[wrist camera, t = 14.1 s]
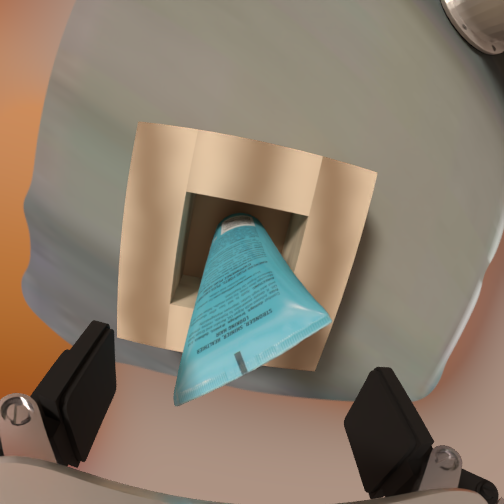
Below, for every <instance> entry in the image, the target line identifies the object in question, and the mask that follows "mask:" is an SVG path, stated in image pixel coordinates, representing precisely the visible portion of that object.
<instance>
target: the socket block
mask: <svg viewBox="0 0 504 504" xmlns="http://www.w3.org/2000/svg"><path fill="white" fill-rule="evenodd" d="M376 177H377V172H374V171H371V170H367V169H364V168H361V167H358V166H354V165H351V164H348V163H344V162H341V161H337V160H334V159H330V158H327V157H323V156H319V155H315V154H312V153H308V152H304V151H300V150H296V149H292V148H288V147H283V146H279V145H275V144H270V143H266V142H261V141H256V140H252V139H247V138H242V137H237V136H232V135H226V134H221V133H215V132H209V131H203V130H197V129H191V128H184V127H177V126H170V125H163V124H155V123H146V122H138V127H137V132H136V137H135V142H134V148H133V153H132V159H131V165H130V172H129V178H128V185H127V192H126V200H125V208H124V217H123V226H122V236H121V248H120V262H119V279H118V306H117V337H118V338H122V339H126V340H130V341H134V342H138V343H142V344H146V345H151V346H155V347H160V348H164V349H169V350H174V351H179V352H183V350H184V345H185V341H186V337H187V333H188V329H189V325H190V321H191V317H192V314H193V310H194V306H195V302H196V299H197V295H198V291H199V287H200V284H201V280H202V276H203V273H204V269H205V265H206V262H207V258H208V255H209V251H210V247H211V244H212V240H213V237H214V233H215V230H216V228H217V226H218V224H219V223H220V222H221V221H222V220H223V219H224V218H225V217H227V216H229V215H231V214H235V213H246V214H249V215H252V216H254V217H255V218H257V219H258V220H259V221H260V222H261V223H262V225H263V226H264V228H265V230H266V231H267V233H268V235H269V236H270V238H271V240H272V241H273V243H274V244H275V246H276V247H277V249H278V251H279V252H280V254H281V255H282V257H283V258H284V260H285V261H286V263H287V264H288V265H289V267H290V268H291V270H292V271H293V272H294V274H295V275H296V277H297V278H298V279H299V280H300V282H301V283H302V284H303V285H304V287H305V288H306V289H307V290H308V292H309V293H310V294H311V295H312V296H313V298H314V299H315V300H316V301H317V302H318V303H319V304H320V305H321V306H322V307H323V308H324V309H325V310H326V311H327V312H328V314H329V316H330V318H331V319H332V323H331V324H329V325H328V326H326V327H324V328H322V329H321V330H319V331H318V332H316V333H314V334H313V335H311V336H310V337H308V338H306V339H304V340H303V341H301V342H300V343H299V344H297V345H296V346H294V347H293V348H291V349H290V350H288V351H286V352H285V353H283V354H282V355H280V356H278V357H277V358H275V359H273V360H271V361H269V362H268V363H266V364H264V365H262V366H270V367H279V368H287V369H297V370H307V371H315V369H316V367H317V364H318V362H319V359H320V356H321V354H322V351H323V349H324V346H325V343H326V341H327V338H328V335H329V333H330V330H331V327H332V325H333V322H334V319H335V316H336V313H337V311H338V308H339V305H340V302H341V299H342V296H343V293H344V290H345V287H346V284H347V281H348V278H349V275H350V271H351V268H352V265H353V262H354V258H355V255H356V252H357V248H358V245H359V242H360V238H361V235H362V231H363V228H364V224H365V220H366V217H367V213H368V209H369V205H370V201H371V197H372V193H373V189H374V185H375V181H376Z"/></svg>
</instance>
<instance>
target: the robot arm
mask: <svg viewBox="0 0 504 504" xmlns="http://www.w3.org/2000/svg"><path fill="white" fill-rule="evenodd" d="M441 3H442V6H443V8H444V10H445V12H446V14H447V16H448V18H449V19H450V21H451V23H452V24H453V25H454V27H455V28H456V29H457V31H458V32H459V33H460V34H461V35H462V36H463V37H464V38H465V39H466V40H467V41H468V42H469V43H470V44H471V45H472V46H474V47H475V48H476V49H478V50H480V51H481V52H483V53H486V54H490V55H495V54H499V53H502V52H503V51H504V0H441ZM115 391H116V372H115V348H114V330H113V329H110V326H109V324H106V323H102V322H99V321H95V320H93V321H92V322H91V323H90V325H89V326H88V327H87V329H86V330H85V331H84V332H83V334H82V335H81V336H80V338H79V339H78V340H77V341H76V343H75V344H74V345H73V347H72V348H71V349H70V350H65V351H64V352H63V353H62V354H61V355H60V356H59V358H58V359H57V360H56V362H55V363H54V364H53V366H52V367H51V368H50V370H49V371H48V372H47V374H46V375H45V377H44V378H43V380H42V381H41V382H40V384H39V385H38V386H37V388H36V389H35V391H34V392H33V393H32V395H31V396H30V397H29V396H27V395H24V394H20V393H19V394H18V393H14V394H10V395H7V396H5V397H4V398H2V399H1V400H0V504H231V503H220V502H212V501H204V500H197V499H191V498H184V497H178V496H173V495H168V494H163V493H158V492H154V491H149V490H145V489H141V488H137V487H133V486H129V485H125V484H121V483H118V482H115V481H111V480H108V479H104V478H101V477H98V476H95V475H92V474H89V473H86V472H82V471H79V470H76V469H73V468H70V467H67V466H68V464H69V465H71V466H74V467H78V466H79V463H80V461H82V462H85V461H86V459H87V457H88V454H89V452H90V449H91V447H92V445H93V442H94V440H95V437H96V435H97V433H98V430H99V428H100V426H101V424H102V421H103V419H104V417H105V414H106V412H107V410H108V408H109V405H110V403H111V401H112V399H113V396H114V394H115ZM344 427H345V430H346V433H347V436H348V439H349V442H350V445H351V448H352V451H353V455H354V458H355V461H356V464H357V467H358V470H359V474H360V477H361V480H362V483H363V486H364V489H365V491H366V492H368V493H369V496H370V499H371V500H364V501H357V502H348V503H338V504H504V499H503V498H502V497H501V498H500V499H499V500H498V490H497V488H496V487H495V485H494V484H493V483H491V482H490V481H488V480H486V479H483V478H481V477H479V476H477V475H475V474H472V473H470V472H468V471H466V470H464V469H462V459H461V456H460V455H459V454H458V452H457V451H455V450H454V449H453V448H451V447H449V446H445V445H440V446H436V447H435V448H434V449H433V448H432V446H431V445H432V444H433V443H434V440H433V439H432V437H431V435H430V433H429V431H428V430H427V428H426V426H425V424H424V422H423V421H422V419H421V417H420V416H419V414H418V412H417V411H416V409H415V407H414V405H413V404H412V402H411V400H410V398H409V397H408V395H407V393H406V392H405V390H404V388H403V386H402V385H401V383H400V381H399V380H398V378H397V377H396V375H395V373H394V372H393V370H392V369H391V368H389V367H376V368H375V369H374V370H373V371H371V372H370V373H369V375H368V377H367V379H366V381H365V383H364V385H363V387H362V388H361V390H360V392H359V394H358V396H357V398H356V400H355V401H354V403H353V405H352V407H351V408H350V410H349V412H348V414H347V416H346V417H345V420H344ZM383 496H385V497H384V498H381V497H383ZM375 498H378V499H375Z"/></svg>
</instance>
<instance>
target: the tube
mask: <svg viewBox="0 0 504 504" xmlns="http://www.w3.org/2000/svg"><path fill="white" fill-rule="evenodd" d="M331 323H332V319H331V318H330V316H329V314H328V312H327V311H326V310H325V309H324V308H323V307H322V306H321V305H320V304H319V303H318V302H317V301H316V300H315V299H314V298H313V296H312V295H311V294H310V293H309V292H308V290H307V289H306V288H305V287H304V285H303V284H302V283H301V282H300V280H299V279H298V278H297V277H296V275H295V274H294V272H293V271H292V270H291V268H290V267H289V265H288V264H287V263H286V261H285V260H284V258H283V257H282V255H281V254H280V252H279V251H278V249H277V247H276V246H275V244H274V243H273V241H272V240H271V238H270V236H269V235H268V233H267V231H266V230H265V228H264V226H263V225H262V223H261V222H260V221H259V220H258V219H257V218H255V217H254V216H252V215H249V214H246V213H235V214H231V215H229V216H227V217H225V218H224V219H223V220H222V221H221V222H220V223H219V224H218V226H217V228H216V230H215V233H214V237H213V240H212V244H211V247H210V251H209V255H208V258H207V262H206V265H205V269H204V273H203V276H202V280H201V284H200V287H199V291H198V295H197V299H196V302H195V306H194V310H193V314H192V317H191V321H190V325H189V329H188V333H187V337H186V341H185V345H184V350H183V354H182V358H181V362H180V366H179V371H178V375H177V381H176V386H175V390H174V405H175V406H180V405H182V404H184V403H186V402H189V401H191V400H193V399H196V398H198V397H200V396H202V395H204V394H207V393H209V392H211V391H213V390H215V389H217V388H220V387H222V386H224V385H225V384H227V383H229V382H231V381H233V380H235V379H237V378H239V377H241V376H243V375H244V374H247V373H249V372H251V371H253V370H255V369H256V368H258V367H260V366H262V365H264V364H266V363H268V362H269V361H271V360H273V359H275V358H277V357H278V356H280V355H282V354H283V353H285V352H286V351H288V350H290V349H291V348H293V347H294V346H296V345H297V344H299V343H300V342H301V341H303V340H304V339H306V338H308V337H310V336H311V335H313V334H314V333H316V332H318V331H319V330H321V329H322V328H324V327H326V326H328V325H329V324H331Z"/></svg>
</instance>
